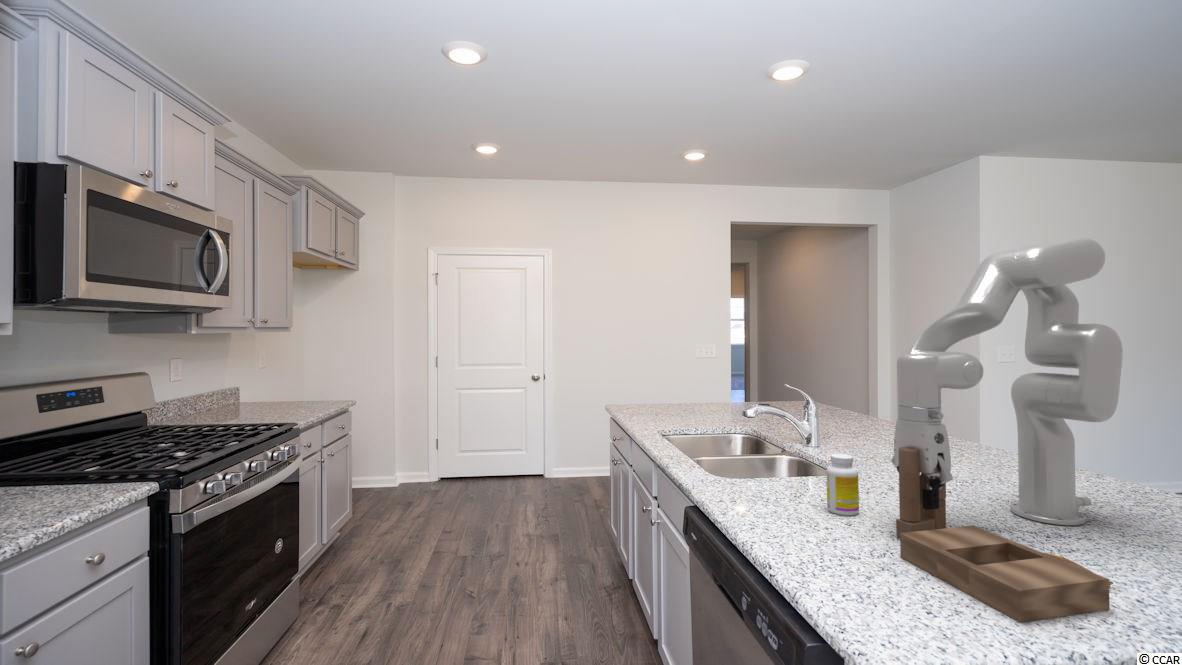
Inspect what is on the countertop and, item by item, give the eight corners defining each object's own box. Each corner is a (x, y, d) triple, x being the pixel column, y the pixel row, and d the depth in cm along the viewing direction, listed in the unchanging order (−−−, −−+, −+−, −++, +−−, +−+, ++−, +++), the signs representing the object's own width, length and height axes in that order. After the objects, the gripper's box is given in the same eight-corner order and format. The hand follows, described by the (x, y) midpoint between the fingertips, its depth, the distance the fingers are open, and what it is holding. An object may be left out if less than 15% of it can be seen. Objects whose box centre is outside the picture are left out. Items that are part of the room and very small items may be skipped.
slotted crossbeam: (974, 549, 99) (973, 525, 99) (1109, 609, 77) (1109, 578, 77) (900, 557, 96) (900, 533, 96) (1020, 622, 74) (1019, 590, 74)
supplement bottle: (866, 514, 118) (864, 457, 118) (843, 518, 116) (842, 460, 116) (842, 505, 125) (841, 451, 125) (820, 508, 122) (819, 454, 122)
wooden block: (947, 533, 106) (945, 445, 106) (913, 543, 102) (911, 451, 102) (928, 527, 110) (927, 442, 110) (895, 536, 105) (893, 447, 105)
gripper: (972, 420, 98) (974, 517, 98) (903, 408, 115) (904, 491, 115) (938, 422, 97) (939, 520, 97) (873, 409, 113) (874, 493, 113)
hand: (920, 503), depth 106 cm, fingers closed on wooden block, 4 cm apart
